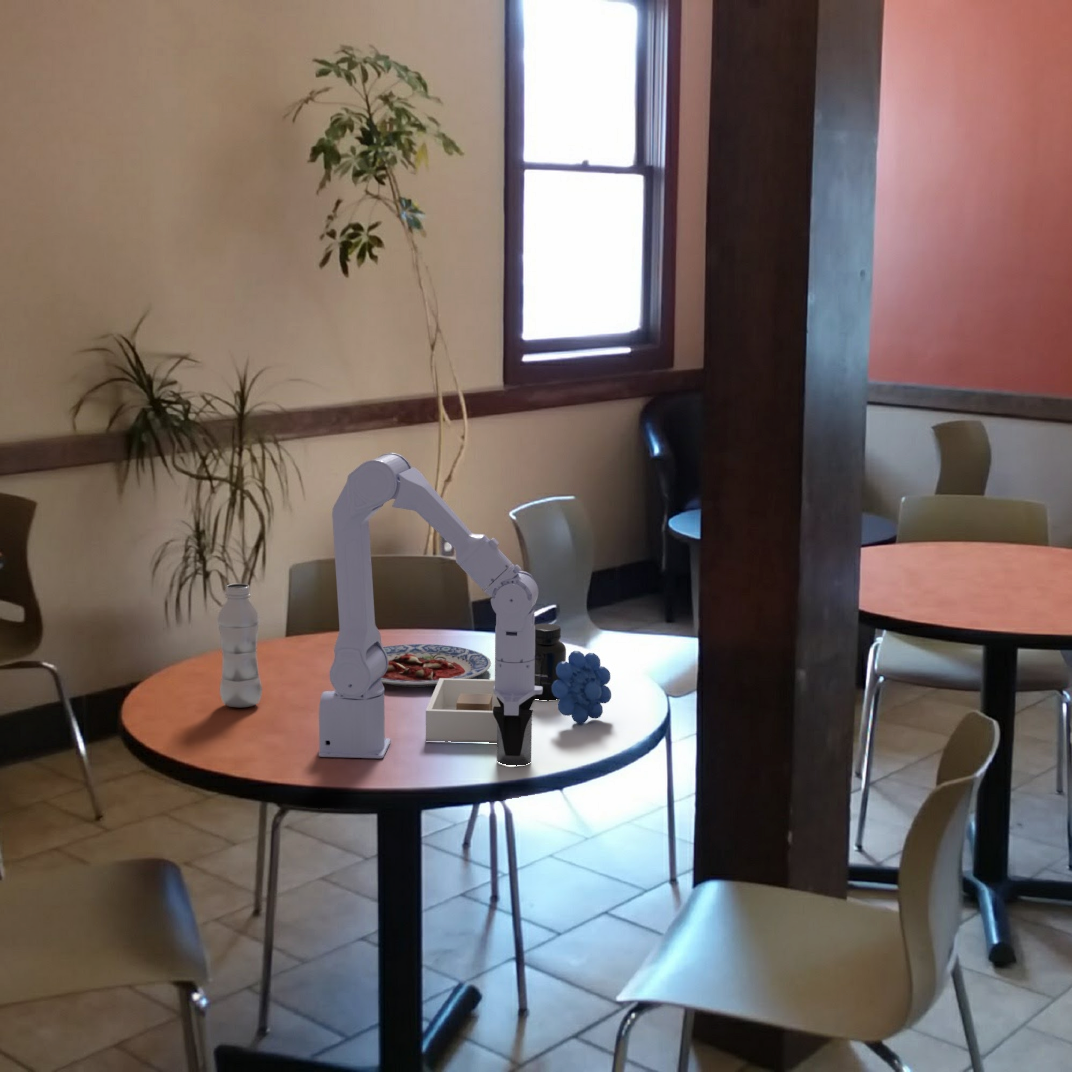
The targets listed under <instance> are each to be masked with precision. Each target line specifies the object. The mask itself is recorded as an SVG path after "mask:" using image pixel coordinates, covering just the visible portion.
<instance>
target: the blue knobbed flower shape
mask: <svg viewBox="0 0 1072 1072" xmlns="http://www.w3.org/2000/svg"><path fill="white" fill-rule="evenodd" d="M567 660H568V661H566V662H564V661H562V662H560V663H558V665H557V666H556V674H557V676H558V678H560V679H561V680H556V681H554V683H553V684H552V693H553V695H554V696H555V697H557V698H559V700H558V702H557V710H558V711H559V713H560V714H561V715H563V716H567V717H568V716H569V717H570V716H571V719H572V720H573V721H574V722H575V723H576V724H584V723H586V722H587V721H588V719H589V718H590V719H598V718H600V717H601V716H602V714H603V713H604V712H603V711H604V710H603V705H602V704H608V703H609V702H610V700H611V699H612V691H611V689H610V687H609V686H607V684H608V683H610V681H611V672H610V670H609V669H608V668H606V667H605V666H601V659H600V657H599V655H598V654H595V653H594V652H588V653H587V654H584V653H583V652H581V651H579V650H574V651H572V652H570V654H569V655H568V659H567Z"/></svg>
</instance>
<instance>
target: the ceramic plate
mask: <svg viewBox="0 0 1072 1072" xmlns="http://www.w3.org/2000/svg"><path fill="white" fill-rule="evenodd" d="M383 648H384V650H385V652H386V653H387V656H388V668H387V671H386V673H385V674H384V675H383V676H382V677H381V681H382V684H386V685H390V686H395V687H396V686H397V687H407V688H408V687H410V688H415V687H416V688H421V687H422V688H423V687H425V686H427V687H436V686H435V685H437V683H438V681H439V678H450V679H473V678H475V677H478V676H480V675H483V674H484V673H486V672H487V671H488V670H489V669H490V667H491V665H492V662H491V659H490V658H489V657H488V656H487V655H485V654H483V653H482V652H479V651H476V650H473V649H469V648H465V647H461V646H454V645H446V644H445V645H443V644H434V643H433V644H430V643H429V644H427V643H426V644H425V643H423V644H422V643H420V644H419V643H418V644H417V643H411V644H410V643H409V644H399V645H397V644H396V645H388V646H383ZM425 688H426V687H425Z"/></svg>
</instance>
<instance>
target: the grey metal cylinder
mask: <svg viewBox="0 0 1072 1072" xmlns="http://www.w3.org/2000/svg"><path fill="white" fill-rule="evenodd" d="M532 723H533V714H532V715H531V718H530V719H529V721H528V724H527V726H526V729H525V733H524V739H523V745H522V750H521V754H520V756H506V755H505V751H504V747H503V742H502V736H501V732H500V728H499V725H498V723H497V745H496V762H497V761H498V762H500V763H502V764H506V765H516V766H517V765H526V764H528V763H530V762H531V763H532V738H533V737H532V731H533V727H532ZM531 763H530V764H531Z"/></svg>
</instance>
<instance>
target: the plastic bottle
mask: <svg viewBox="0 0 1072 1072" xmlns="http://www.w3.org/2000/svg"><path fill="white" fill-rule="evenodd" d="M250 588H251V587H250V585H249V584H246V583H231V584H227V585H226V587H225V598H226V599H227V600H226V602H225V603H224V605H223V606H222V607H221V609H220V610H219V612H218V616H217V626H218V631H219V636H220V639H221V640H220V641H221V643H220V644H221V649H222V650H221V651H222V652H221V653H222V670H221V671H222V673H221V680H220V685H219V688H220V689H219V694H220V697H221V699H220V700H221V701H222V702H223V704H224V705H225V706H227V707H229V708H248V707H253V706H256V705H257V704H259V702H260V700H261V699H262V692H263V689H262V682H261V678H260V676H259V675H260V674H259V665H258V658H257V657H258V655H257V654H258V651H257V649H258V633H259V623H260V616H259V613H258V611H257V609H256V608H255V606H254V605H253V604H252V602H251V601H250V599H249V598H250V597H251V593H250V592H251V589H250Z"/></svg>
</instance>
